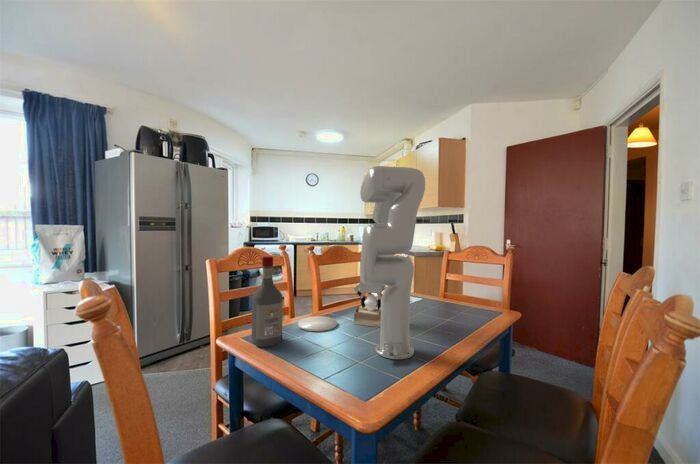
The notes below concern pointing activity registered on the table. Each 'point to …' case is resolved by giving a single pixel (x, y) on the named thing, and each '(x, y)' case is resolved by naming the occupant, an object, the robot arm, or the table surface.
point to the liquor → (267, 309)
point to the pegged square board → (367, 317)
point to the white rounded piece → (371, 302)
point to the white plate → (317, 323)
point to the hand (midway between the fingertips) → (371, 307)
